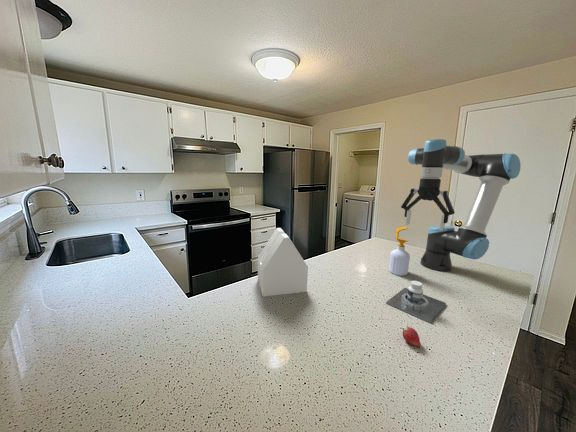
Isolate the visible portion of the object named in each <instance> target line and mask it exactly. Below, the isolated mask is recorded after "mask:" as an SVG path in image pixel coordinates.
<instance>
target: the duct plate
mask: <svg viewBox="0 0 576 432" xmlns="http://www.w3.org/2000/svg"><path fill="white" fill-rule="evenodd" d="M407 294H408V287H404V288H402V289H401V290H400V291H399V292H397V293H396V294H394V295H393V296H392V297H390V298H389V299H388V300H386V302H385V304H387V305H389V306H390V307H391V306H392V307H393V308H396V309H398V310H400V311H402V312H404V313H407V314H409V315H410V316H413V317H416V318H418V319H420V320H422V321H425V322H426V323H429V324H431V323H432V322H433V321H434V320H435V318H437V316H438V315H439V314H440V312H441V311H442V310H443V309H444V308H445V306H446V305H447V302H444V301H442V300H440V299H437V298H434V297H431V296H429V295H426V294H425V293H423V297H422V304H416V303H412V302H410V301H408V300H407Z"/></svg>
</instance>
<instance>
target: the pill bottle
mask: <svg viewBox="0 0 576 432" xmlns="http://www.w3.org/2000/svg"><path fill="white" fill-rule="evenodd" d="M407 289H408V294H407V300H408V301H410V302H412V303H416V304H422V297H423V294H424V290H423V283H422V282H421V281H418V280H412V281H410V285H409V286H408V287H407Z"/></svg>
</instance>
